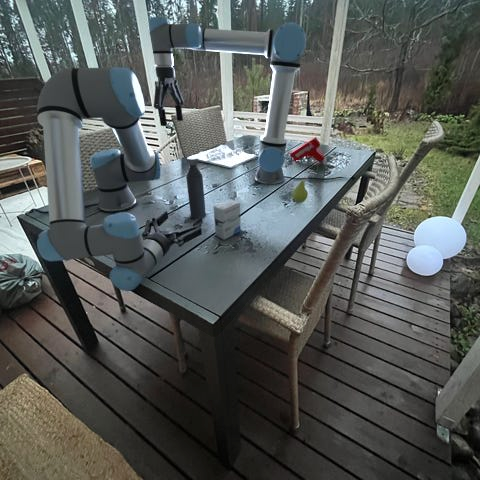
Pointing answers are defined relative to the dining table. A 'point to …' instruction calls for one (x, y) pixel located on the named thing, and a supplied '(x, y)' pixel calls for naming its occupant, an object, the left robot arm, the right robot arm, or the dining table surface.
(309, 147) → the toy gun
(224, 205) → the ink box
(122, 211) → the left robot arm
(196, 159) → the cap
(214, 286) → the dining table surface
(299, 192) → the fruit
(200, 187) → the bottle
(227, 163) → the relief map
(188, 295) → the dining table surface
